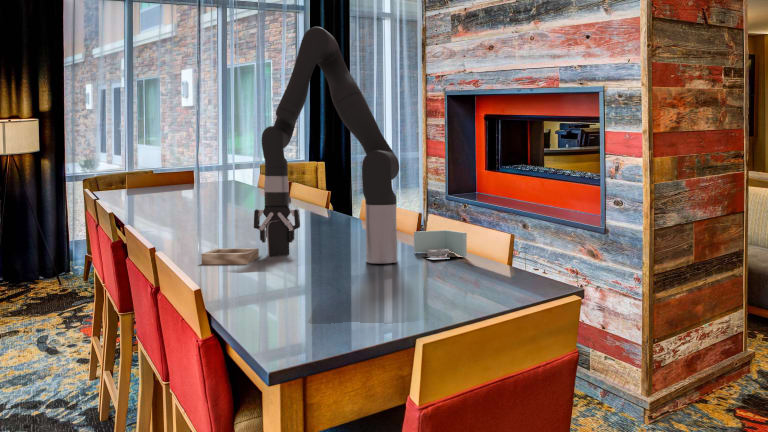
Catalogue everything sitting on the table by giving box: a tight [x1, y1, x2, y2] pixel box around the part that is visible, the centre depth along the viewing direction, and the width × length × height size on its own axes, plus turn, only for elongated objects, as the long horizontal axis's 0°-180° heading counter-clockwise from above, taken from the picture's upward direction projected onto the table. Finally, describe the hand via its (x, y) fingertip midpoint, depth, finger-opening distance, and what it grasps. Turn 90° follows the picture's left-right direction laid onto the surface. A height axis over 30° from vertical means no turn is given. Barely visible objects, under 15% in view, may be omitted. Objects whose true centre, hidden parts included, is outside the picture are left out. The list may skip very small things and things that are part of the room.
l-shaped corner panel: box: [413, 229, 468, 260], centre depth 193 cm, size 12×12×8 cm
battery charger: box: [265, 221, 290, 258], centre depth 194 cm, size 7×4×11 cm, turn 117°
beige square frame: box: [200, 248, 260, 265], centre depth 185 cm, size 13×13×3 cm
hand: (277, 242), depth 194 cm, fingers open, 8 cm apart
